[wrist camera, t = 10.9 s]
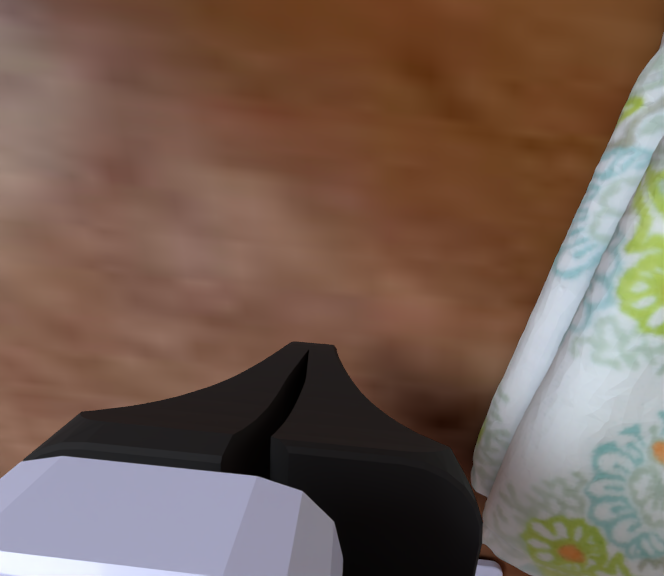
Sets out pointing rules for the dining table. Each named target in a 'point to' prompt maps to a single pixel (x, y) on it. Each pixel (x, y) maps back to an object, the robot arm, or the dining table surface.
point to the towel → (590, 379)
